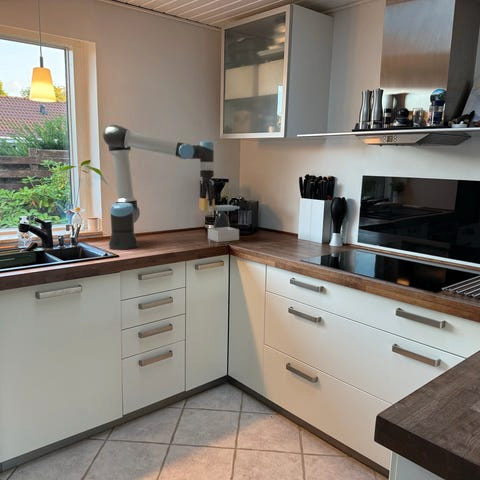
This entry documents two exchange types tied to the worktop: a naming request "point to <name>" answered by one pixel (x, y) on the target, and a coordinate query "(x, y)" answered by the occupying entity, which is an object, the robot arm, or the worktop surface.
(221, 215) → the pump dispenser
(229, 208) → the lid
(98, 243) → the worktop surface
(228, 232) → the tub
